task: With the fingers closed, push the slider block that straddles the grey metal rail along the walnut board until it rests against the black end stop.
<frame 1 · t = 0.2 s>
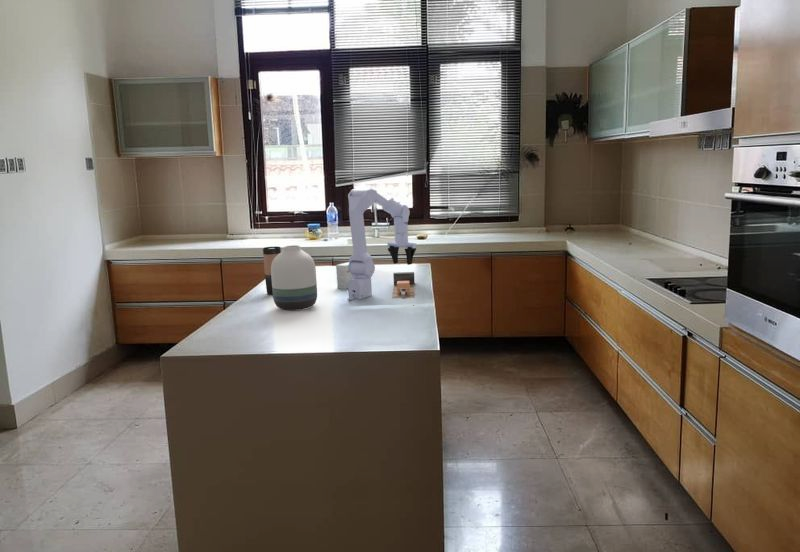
hand: (402, 263, 279), 10 cm above the countertop, fingers open, 7 cm apart
travel mug: (275, 293, 279), on the countertop
rail board: (403, 296, 260), on the countertop
small box: (348, 287, 286), on the countertop
vase: (296, 308, 248), on the countertop
slider block: (403, 292, 261), point 1 cm above the countertop, touching rail board
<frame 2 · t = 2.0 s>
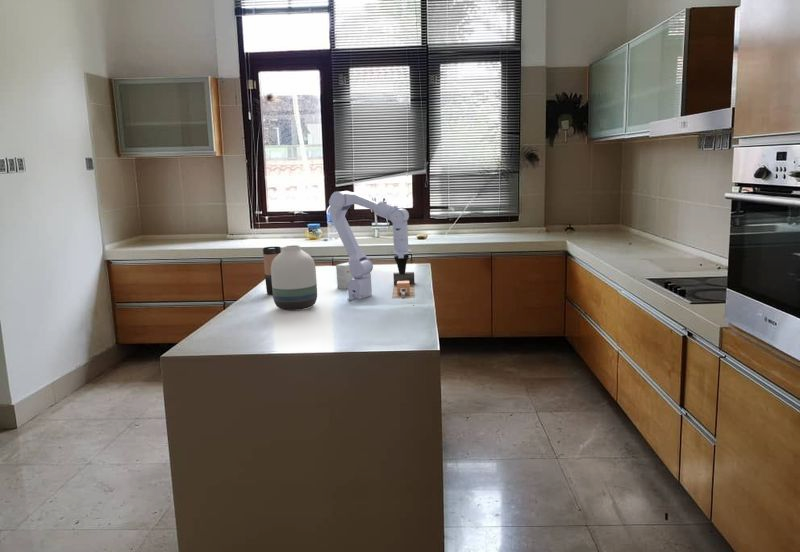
hand: (402, 273, 252), 10 cm above the countertop, fingers closed
nothing on the countertop moved.
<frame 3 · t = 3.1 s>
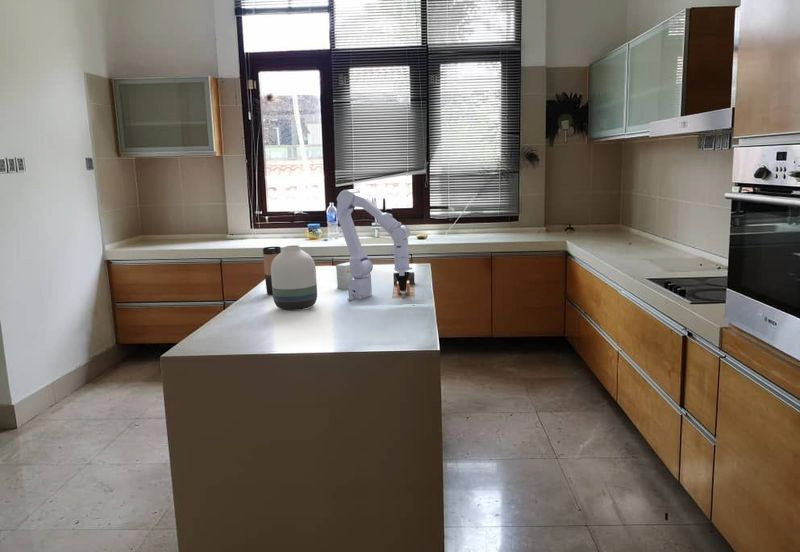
hand: (403, 290, 254), 4 cm above the countertop, fingers closed
nothing on the countertop moved.
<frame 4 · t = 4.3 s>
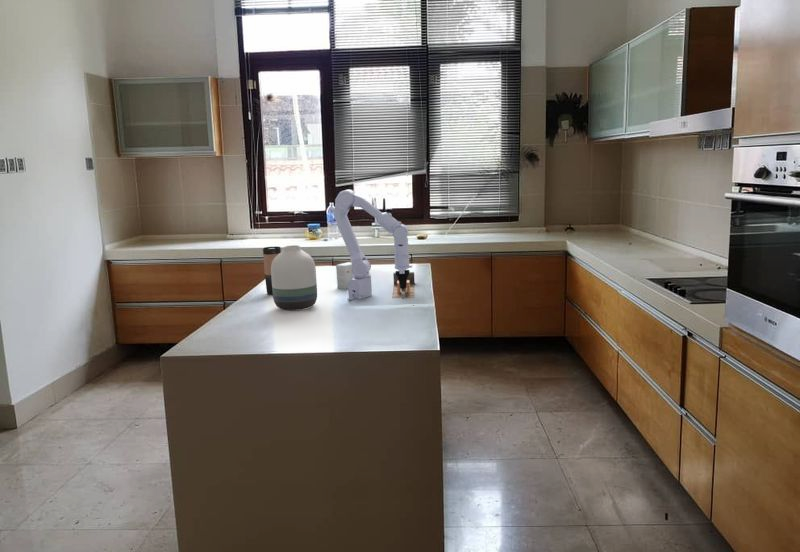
hand: (403, 288, 258), 4 cm above the countertop, fingers closed
slider block: (403, 292, 262), point 1 cm above the countertop, touching gripper
everything else where it was.
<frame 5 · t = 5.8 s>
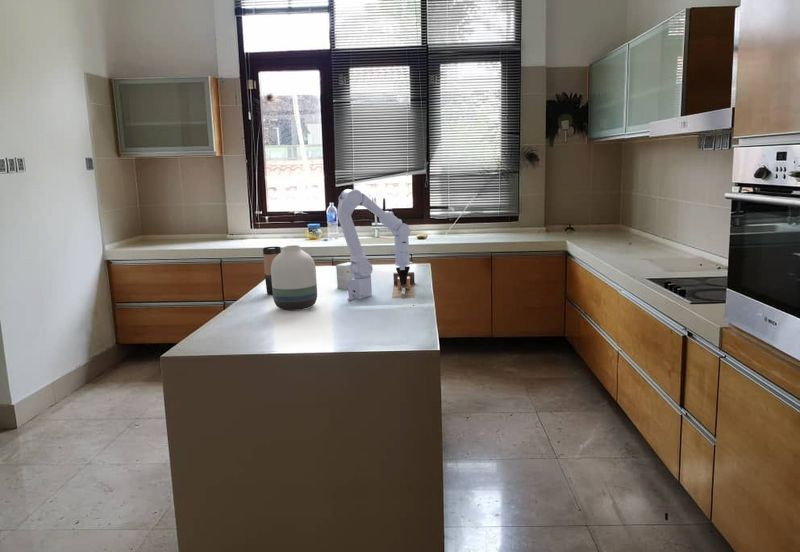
hand: (403, 284, 267), 4 cm above the countertop, fingers closed
slider block: (404, 288, 271), point 1 cm above the countertop, touching gripper, rail board
everything else where it was.
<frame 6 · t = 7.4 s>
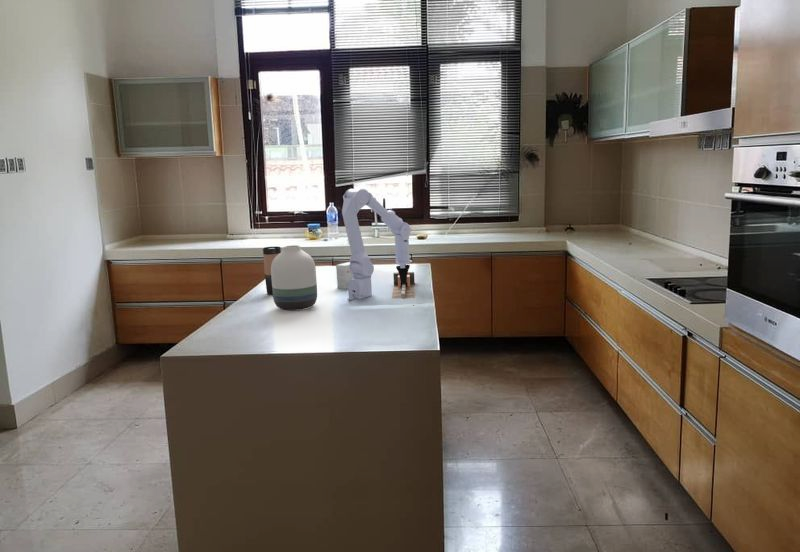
hand: (403, 282, 271), 4 cm above the countertop, fingers closed
slider block: (404, 286, 275), point 1 cm above the countertop, touching gripper, rail board
everything else where it was.
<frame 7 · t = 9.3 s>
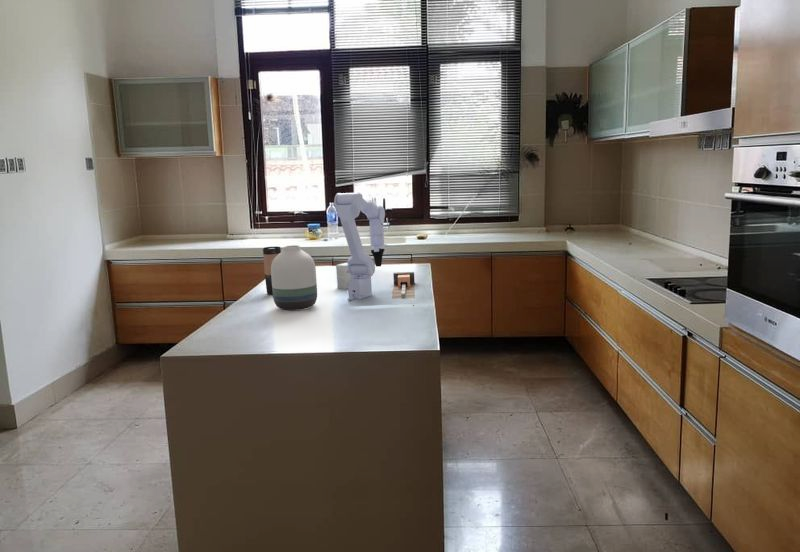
hand: (378, 266, 274), 10 cm above the countertop, fingers closed
slider block: (404, 286, 275), point 1 cm above the countertop, touching rail board
everything else where it was.
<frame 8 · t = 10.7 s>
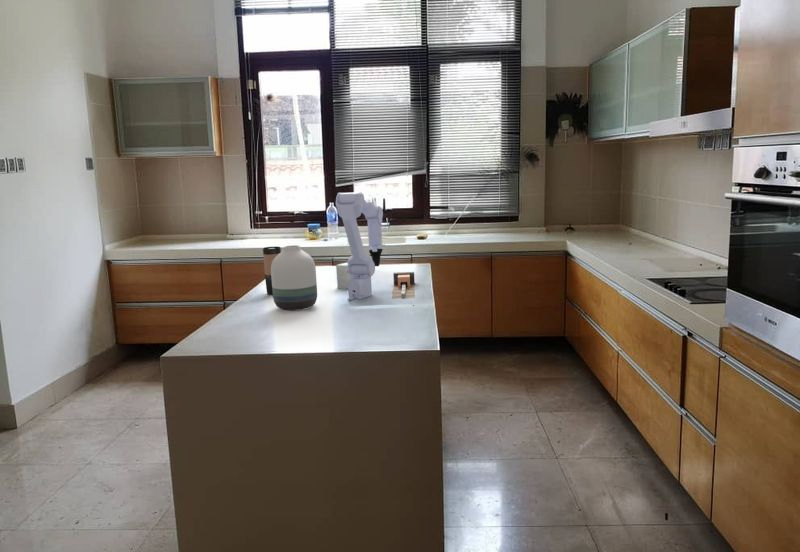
hand: (376, 266, 274), 10 cm above the countertop, fingers closed
nothing on the countertop moved.
at the end: slider block 0.8 cm from the target spot on the rail board, point 1.2 cm above the rail board's base; slider block tilted 0°; slider block moved 14.1 cm from its start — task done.
